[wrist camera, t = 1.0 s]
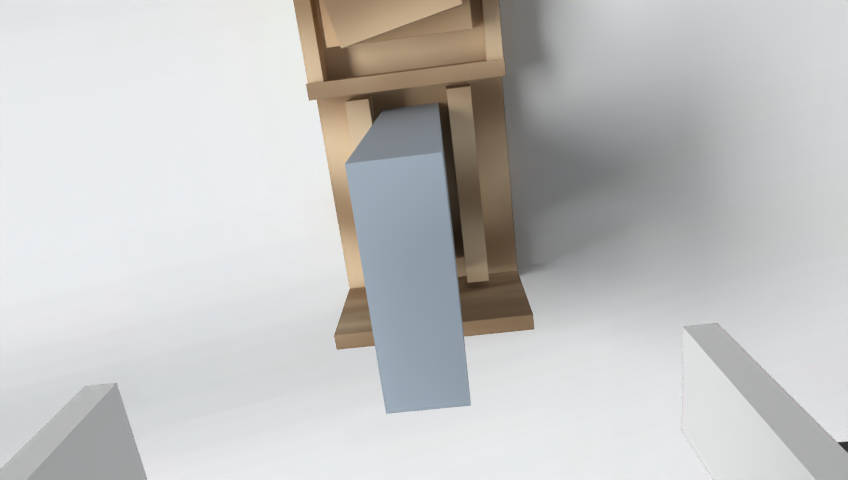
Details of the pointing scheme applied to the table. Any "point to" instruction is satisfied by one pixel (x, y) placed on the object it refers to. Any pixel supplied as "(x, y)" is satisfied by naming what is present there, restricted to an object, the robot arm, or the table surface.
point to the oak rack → (463, 150)
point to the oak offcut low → (433, 25)
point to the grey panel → (409, 259)
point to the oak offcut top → (379, 16)
